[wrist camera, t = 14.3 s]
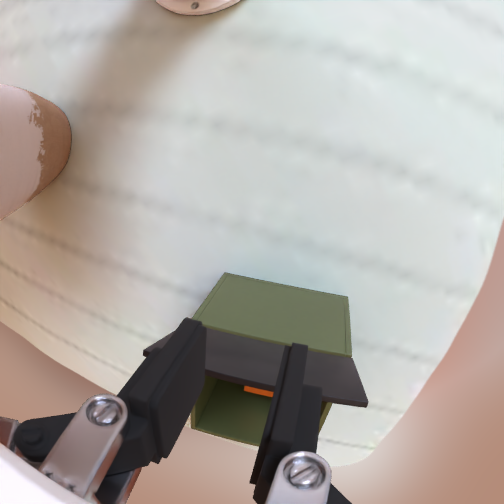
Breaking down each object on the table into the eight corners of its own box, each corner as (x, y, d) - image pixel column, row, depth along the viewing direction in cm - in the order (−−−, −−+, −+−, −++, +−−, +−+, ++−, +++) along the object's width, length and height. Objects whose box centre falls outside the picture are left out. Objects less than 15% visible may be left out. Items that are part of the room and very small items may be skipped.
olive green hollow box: (224, 272, 34) (190, 320, 25) (348, 296, 32) (352, 355, 23) (216, 374, 39) (191, 428, 31) (315, 396, 37) (308, 456, 29)
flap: (187, 327, 24) (187, 322, 24) (351, 362, 22) (352, 357, 22) (142, 355, 17) (143, 349, 17) (366, 407, 15) (368, 401, 15)
